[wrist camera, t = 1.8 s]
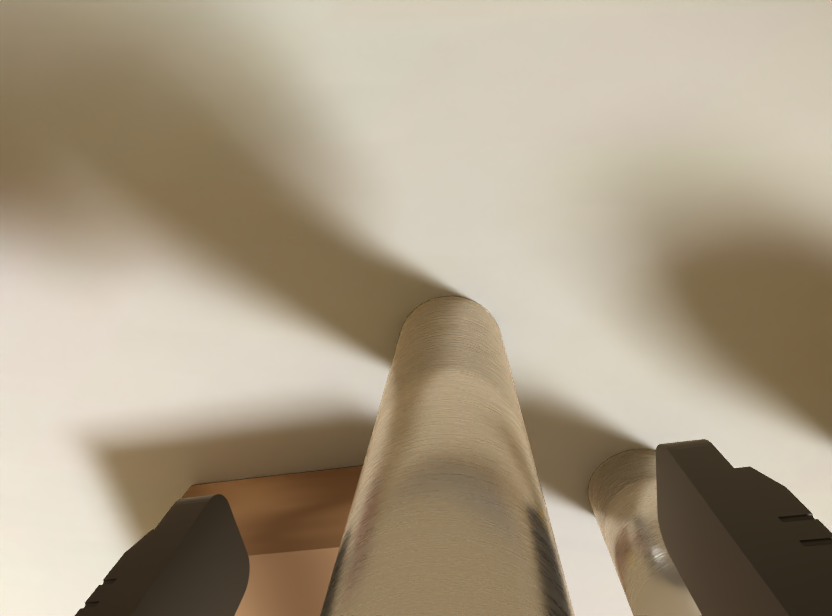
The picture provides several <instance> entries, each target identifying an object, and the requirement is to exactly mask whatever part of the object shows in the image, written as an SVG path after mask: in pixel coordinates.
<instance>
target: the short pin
mask: <svg viewBox="0 0 832 616" xmlns="http://www.w3.org/2000/svg"><path fill="white" fill-rule="evenodd" d="M588 497H589V501H590V504H591V507H592V509H593V512H594V514H595V517H596V520H597V522H598V525H599V527H600V530H601V532H602V535H603V538H604V540H605V543H606V545H607V548H608V551H609V553H610V556H611V558H612V561H613V563H614V566H615V569H616V571H617V574H618V576H619V579H620V582H621V584H622V587H623V589H624V592H625V594H626V597H627V600H628V602H629V605H630V607H631V610H632V613H633V615H634V616H702V614H701V613H700V611H699V609H698V607H697V605H696V603H695V602H694V600H693V598H692V596H691V594H690V592H689V591H688V589H687V587H686V585H685V583H684V581H683V580H682V578H681V576H680V574H679V572H678V571H677V569H676V567H675V565H674V563H673V561H672V560H671V558H670V556H669V554H668V552H667V549H666V547H665V544H664V542H663V539H662V535H661V532H660V528H659V523H658V514H657V485H656V451H652V450H643V449H639V450H630V451H626V452H622V453H619V454H617V455H614V456H613V457H611V458H609V459H607V460H606V461H605V462H603V463H602V464H601V465H600V466H599V467H598V468H597V469H596V471H595V472H594V474H593V475H592V477H591V479H590V482H589V486H588Z"/></svg>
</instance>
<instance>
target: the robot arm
mask: <svg viewBox="0 0 832 616" xmlns="http://www.w3.org/2000/svg"><path fill="white" fill-rule="evenodd" d="M656 485H657V514H658V523H659V528H660V532H661V535H662V539H663V542H664V544H665V547H666V549H667V552H668V554H669V556H670V558H671V560H672V561H673V563H674V565H675V567H676V569H677V571H678V572H679V574H680V576H681V578H682V580H683V581H684V583H685V585H686V587H687V589H688V591H689V592H690V594H691V596H692V598H693V600H694V602H695V603H696V605H697V607H698V609H699V611H700V613H701V614H702V616H832V533H831V532H830V531H829V530H828V529H827V528H826V527H825V526H824V525H823V524H822V523H821V522H820V521H819V520H818V519H814V518H813V515H812V513H811V512H810V511H809V510H808V509H807V508H806V507H805V506H804V505H803V504H802V503H801V502H800V501H799V500H798V499H797V498H796V497H795V496H794V495H793V494H792V493H791V492H790V491H789V490H788V489H787V488H786V487H785V486H783V485H781V484H779V483H778V482H776V481H774V480H772V479H771V478H769V477H767V476H765V475H764V474H762V473H760V472H758V471H757V470H755V469H753V468H751V467H743V468H733V467H732V465H731V464H730V463H729V462H728V461H727V460H726V459H725V458H724V457H723V455H722V454H721V453H720V452H719V451H718V450H717V449H716V448H715V447H714V445H713V444H712V443H711V442H709V441H708V440H705V439H702V440H693V441H685V442H676V443H667V444H659V445H658V446H657V448H656ZM249 572H250V564H249V557H248V553H247V550H246V548H245V545H244V542H243V540H242V537H241V534H240V532H239V529H238V526H237V524H236V521H235V518H234V516H233V513H232V510H231V508H230V505H229V503H228V500H227V499H226V498H225V497H224V496H223V495H221V494H215V495H206V496H197V497H189V498H182V499H180V500H178V501H177V502H176V503H175V504H174V505H173V506H172V507H171V509H170V510H169V511H168V513H167V514H166V515H165V517H164V518H163V519H162V521H161V522H160V523H159V524H158V526H157V527H156V528H155V530H151V531H150V532H149V533H148V534H147V535H146V536H144V537H143V538H142V539H141V540H140V541H138V542H137V543H136V544H135V545H134V546H132V547H131V548H130V549H129V550H128V551H126V552H125V553H124V554H123V556H122V557H121V558H120V560H119V561H118V562H117V563H116V565H115V566H114V567H113V568H112V570H111V571H110V572H109V573H108V575H107V576H106V577H105V578H104V583H103V585H99V586H98V587H97V588H96V590H95V591H94V592H93V593H92V595H91V596H90V597H89V598H88V600H87V601H86V602H85V607H84V608H82V609H80V610H79V611H78V612H77V614H76V615H75V616H235V613H236V611H237V609H238V607H239V605H240V602H241V600H242V598H243V596H244V594H245V591H246V588H247V585H248V580H249Z"/></svg>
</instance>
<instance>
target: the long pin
mask: <svg viewBox="0 0 832 616" xmlns="http://www.w3.org/2000/svg"><path fill="white" fill-rule="evenodd" d="M320 616H575V615H574V612H573V608H572V604H571V600H570V596H569V592H568V589H567V585H566V581H565V577H564V573H563V569H562V566H561V562H560V558H559V554H558V550H557V547H556V543H555V539H554V535H553V531H552V527H551V524H550V520H549V516H548V512H547V508H546V504H545V501H544V497H543V493H542V489H541V485H540V481H539V478H538V474H537V470H536V466H535V462H534V459H533V455H532V451H531V447H530V443H529V439H528V436H527V432H526V428H525V424H524V420H523V416H522V413H521V409H520V405H519V401H518V397H517V393H516V390H515V386H514V382H513V378H512V374H511V371H510V367H509V363H508V359H507V355H506V351H505V348H504V344H503V340H502V336H501V332H500V329H499V327H498V324H497V323H496V321H495V319H494V318H493V316H492V315H491V314H490V313H489V312H488V311H487V310H486V309H485V308H484V307H482V306H481V305H479V304H478V303H476V302H474V301H472V300H469V299H466V298H463V297H456V296H445V297H438V298H434V299H432V300H429V301H427V302H425V303H423V304H421V305H420V306H418V307H417V308H416V309H415V310H414V311H413V312H412V313H411V314H410V315H409V316H408V318H407V319H406V321H405V322H404V325H403V327H402V330H401V333H400V337H399V340H398V344H397V347H396V351H395V354H394V358H393V361H392V365H391V368H390V372H389V375H388V379H387V382H386V386H385V389H384V393H383V396H382V400H381V403H380V407H379V410H378V414H377V418H376V421H375V425H374V428H373V432H372V435H371V439H370V442H369V446H368V449H367V453H366V456H365V460H364V463H363V467H362V470H361V474H360V477H359V481H358V484H357V488H356V491H355V495H354V498H353V502H352V505H351V509H350V512H349V516H348V519H347V523H346V526H345V530H344V534H343V537H342V541H341V544H340V548H339V551H338V555H337V558H336V562H335V565H334V569H333V572H332V576H331V579H330V583H329V586H328V590H327V593H326V597H325V600H324V604H323V607H322V611H321V614H320Z"/></svg>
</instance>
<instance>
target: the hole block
mask: <svg viewBox="0 0 832 616" xmlns="http://www.w3.org/2000/svg"><path fill="white" fill-rule="evenodd" d="M362 467H363V466H355V467H347V468H338V469H329V470H321V471H312V472H303V473H295V474H286V475H278V476H269V477H260V478H252V479H243V480H234V481H226V482H217V483H208V484H200V485H192V486H191V487H190V488H189V489H188V491H187V492H186V493H185V495H184V496H183V497H182V498H189V497H197V496H206V495H215V494H221V495H223V496H224V497H225V498H226V499H227V500H228V503H229V505H230V508H231V510H232V513H233V516H234V518H235V521H236V524H237V526H238V529H239V532H240V534H241V537H242V540H243V542H244V545H245V548H246V550H247V553H248V557H249V564H250V572H249V580H248V585H247V588H246V591H245V594H244V596H243V598H242V600H241V602H240V605H239V607H238V609H237V611H236V613H235V616H320V614H321V611H322V607H323V604H324V600H325V597H326V593H327V590H328V586H329V583H330V579H331V576H332V572H333V569H334V565H335V562H336V558H337V555H338V551H339V548H340V544H341V541H342V537H343V534H344V530H345V526H346V523H347V519H348V516H349V512H350V509H351V505H352V502H353V498H354V495H355V491H356V488H357V484H358V481H359V477H360V474H361V470H362Z"/></svg>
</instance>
